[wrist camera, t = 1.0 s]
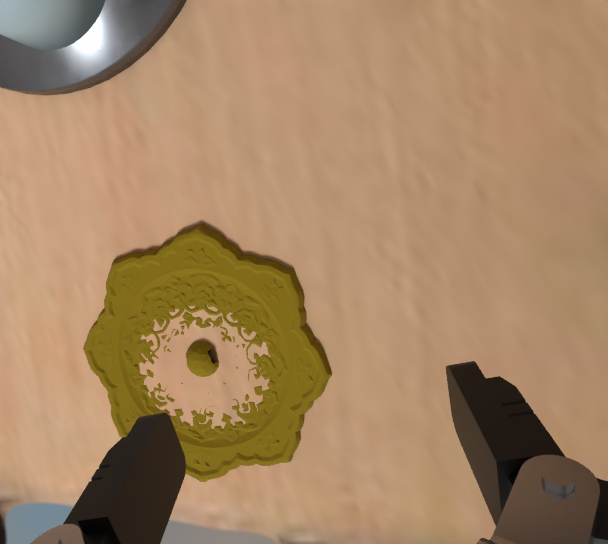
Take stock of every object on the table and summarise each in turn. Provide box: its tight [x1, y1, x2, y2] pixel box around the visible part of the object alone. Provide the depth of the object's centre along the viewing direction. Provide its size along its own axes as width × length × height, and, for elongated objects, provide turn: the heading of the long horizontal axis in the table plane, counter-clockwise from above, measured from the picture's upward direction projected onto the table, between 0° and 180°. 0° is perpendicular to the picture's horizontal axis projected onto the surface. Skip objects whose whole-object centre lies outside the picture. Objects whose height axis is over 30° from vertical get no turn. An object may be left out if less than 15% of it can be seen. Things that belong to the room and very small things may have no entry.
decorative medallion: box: [83, 224, 332, 482], centre depth 35 cm, size 20×20×2 cm
